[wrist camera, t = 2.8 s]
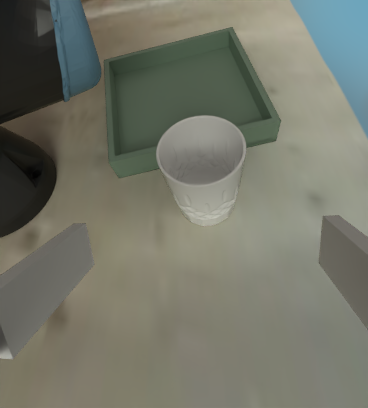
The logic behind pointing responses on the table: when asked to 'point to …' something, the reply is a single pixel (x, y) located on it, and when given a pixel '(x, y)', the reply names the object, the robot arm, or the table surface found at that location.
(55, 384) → the table surface
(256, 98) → the green box
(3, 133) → the robot arm
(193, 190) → the white cup
